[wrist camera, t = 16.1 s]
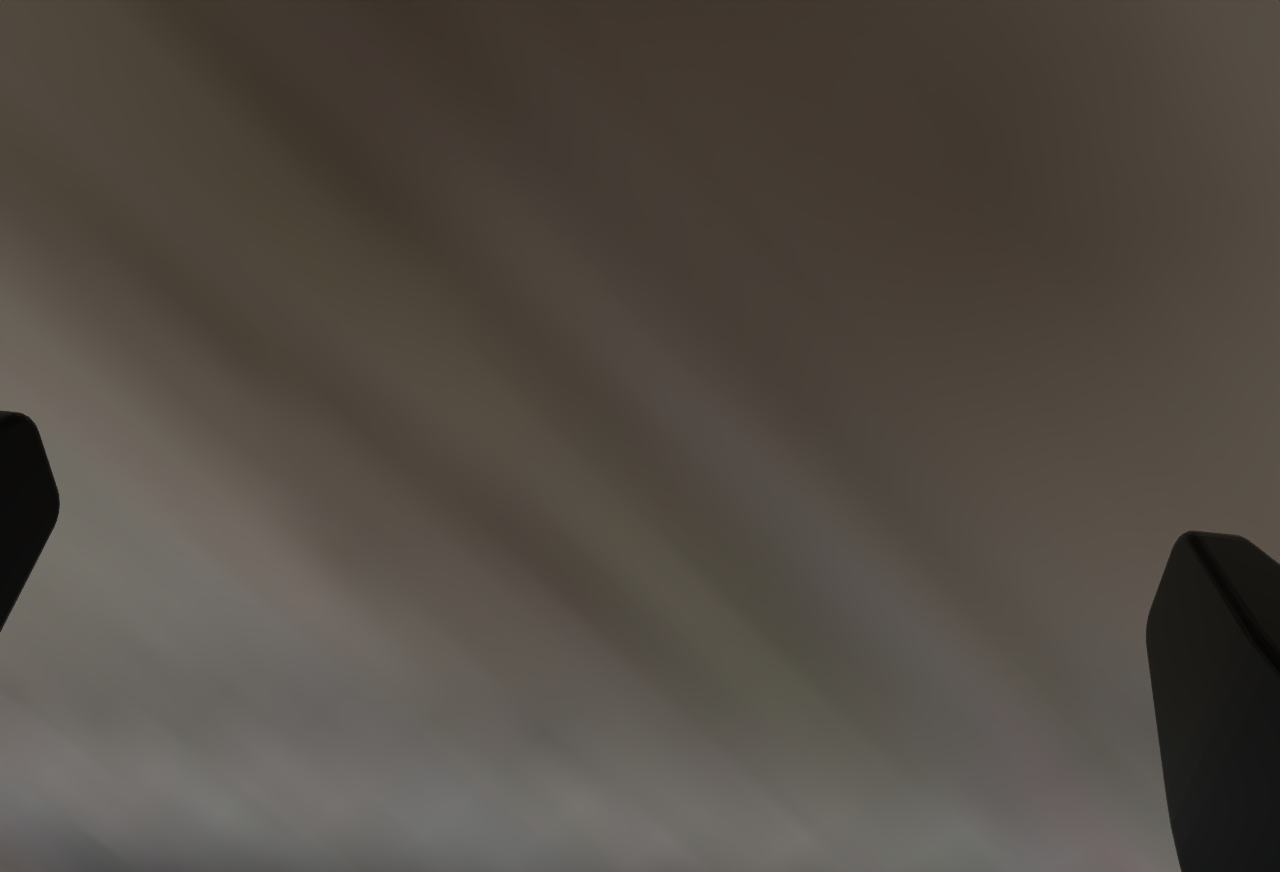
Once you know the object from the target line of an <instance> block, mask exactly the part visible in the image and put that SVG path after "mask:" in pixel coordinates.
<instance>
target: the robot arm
mask: <svg viewBox="0 0 1280 872" xmlns="http://www.w3.org/2000/svg"><path fill="white" fill-rule="evenodd" d="M59 506H60V502H59V493H58V489H57V486H56V483H55V480H54V477H53V474H52V471H51V468H50V464H49V461H48V458H47V455H46V452H45V449H44V446H43V443H42V440H41V437H40V434H39V431H38V429H37V426H36V425H35V423H34V422H33V421H32V420H31V419H30V418H29V417H28V416H26V415H24V414H22V413H18V412H9V411H0V632H1V630H2V628H3V626H4V624H5V622H6V620H7V618H8V616H9V614H10V612H11V610H12V609H13V607H14V605H15V603H16V601H17V599H18V597H19V595H20V593H21V591H22V589H23V587H24V585H25V583H26V581H27V579H28V577H29V575H30V573H31V571H32V569H33V567H34V566H35V564H36V562H37V560H38V558H39V556H40V554H41V552H42V550H43V548H44V546H45V544H46V542H47V540H48V538H49V536H50V534H51V532H52V530H53V528H54V526H55V524H56V521H57V518H58V514H59ZM1146 646H1147V654H1148V662H1149V669H1150V677H1151V685H1152V692H1153V700H1154V708H1155V715H1156V723H1157V731H1158V738H1159V746H1160V754H1161V761H1162V769H1163V777H1164V784H1165V792H1166V799H1167V805H1168V812H1169V818H1170V824H1171V829H1172V834H1173V838H1174V843H1175V847H1176V851H1177V856H1178V860H1179V864H1180V868H1181V872H1280V564H1279V563H1277V562H1276V561H1275V560H1274V559H1272V558H1271V557H1270V556H1268V555H1267V554H1266V553H1265V552H1263V551H1262V550H1261V549H1259V548H1258V547H1257V546H1255V545H1254V544H1253V543H1252V542H1250V541H1249V540H1247V539H1246V538H1244V537H1241V536H1238V535H1231V534H1221V533H1211V532H1201V531H1188V532H1186V533H1184V534H1182V535H1181V536H1180V537H1179V538H1178V540H1177V541H1176V542H1175V544H1174V546H1173V548H1172V551H1171V554H1170V557H1169V559H1168V562H1167V565H1166V568H1165V570H1164V573H1163V576H1162V578H1161V581H1160V584H1159V587H1158V589H1157V592H1156V595H1155V598H1154V600H1153V603H1152V606H1151V609H1150V612H1149V615H1148V620H1147V628H1146Z"/></svg>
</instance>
